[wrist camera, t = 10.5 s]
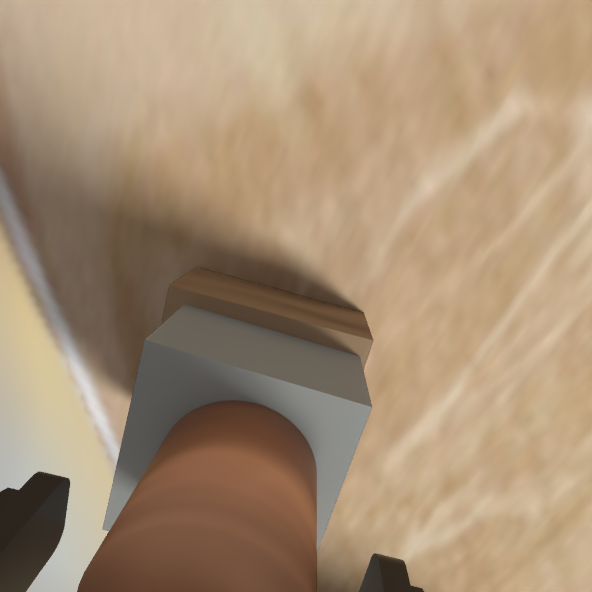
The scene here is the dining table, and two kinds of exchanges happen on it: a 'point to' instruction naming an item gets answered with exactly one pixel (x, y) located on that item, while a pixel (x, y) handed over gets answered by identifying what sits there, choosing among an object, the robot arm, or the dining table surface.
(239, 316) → the tower base
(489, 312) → the dining table surface
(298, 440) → the tan cylinder
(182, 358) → the tower top
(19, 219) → the dining table surface
